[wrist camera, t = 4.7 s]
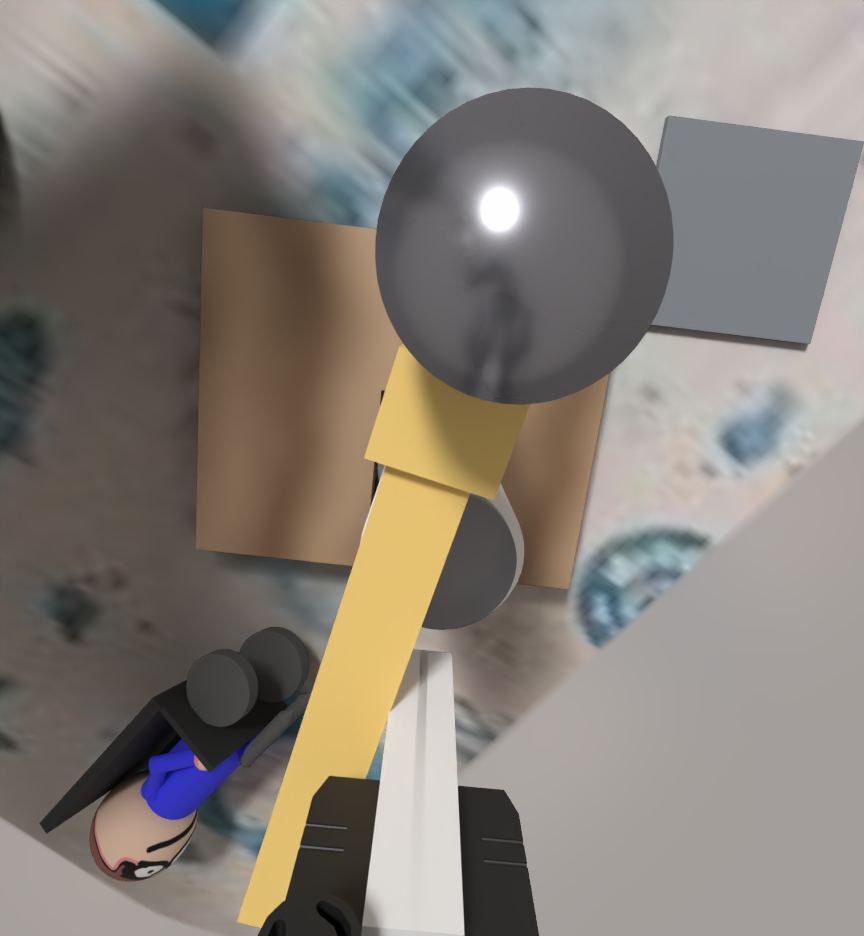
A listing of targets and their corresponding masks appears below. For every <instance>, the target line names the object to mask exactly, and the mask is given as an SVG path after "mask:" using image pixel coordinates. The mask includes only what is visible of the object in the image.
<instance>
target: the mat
mask: <svg viewBox="0 0 864 936" xmlns="http://www.w3.org/2000/svg"><path fill="white" fill-rule="evenodd" d="M863 144H864V142H863V141H856V140H848V139H841V138H833V137H826V136H818V135H811V134H803V133H796V132H788V131H781V130H773V129H766V128H758V127H751V126H743V125H736V124H728V123H721V122H713V121H706V120H698V119H691V118H683V117H676V116H668V117H667V118H666V119H665V124H664V129H663V134H662V139H661V145H660V150H659V155H658V160H657V165H656V168H657V169H658V171H659V173H660V176H661V179H662V181H663V184H664V187H665V189H666V192H667V196H668V200H669V204H670V209H671V213H672V223H673V232H674V237H673V259H672V266H671V273H670V277H669V281H668V285H667V288H666V292H665V295H664V298H663V300H662V303H661V305H660V308H659V310H658V313H657V315H656V316H655V318H654V320H653V322H652V324H651V325H656V326H664V327H673V328H681V329H689V330H697V331H705V332H713V333H722V334H730V335H738V336H746V337H754V338H762V339H771V340H779V341H787V342H795V343H803V344H810V343H811V339H812V335H813V331H814V328H815V324H816V320H817V316H818V313H819V309H820V305H821V301H822V298H823V294H824V290H825V287H826V283H827V279H828V275H829V272H830V268H831V264H832V260H833V257H834V253H835V249H836V245H837V242H838V238H839V234H840V230H841V227H842V223H843V219H844V215H845V212H846V208H847V204H848V200H849V197H850V193H851V189H852V185H853V182H854V178H855V174H856V170H857V167H858V163H859V159H860V156H861V152H862V148H863Z"/></svg>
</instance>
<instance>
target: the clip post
mask: <svg viewBox="0 0 864 936" xmlns="http://www.w3.org/2000/svg"><path fill="white" fill-rule="evenodd" d="M673 237H674V232H673V223H672V213H671V209H670V204H669V200H668V196H667V192H666V189H665V187H664V184H663V181H662V179H661V176H660V173H659V171H658V169H657V168H656V166H655V164H654V162H653V160H652V158H651V157H650V155H649V153H648V152H647V151H646V149H645V148H644V146H643V145H642V144H641V142H640V141H639V140H638V138H637V137H636V136H635V135H634V134H633V133H632V132H631V131H630V130H629V129H628V128H627V127H626V126H625V125H624V124H623V123H622V122H621V121H619V120H618V119H617V118H615V117H614V116H613V115H612V114H610V113H609V112H608V111H606V110H605V109H603V108H601V107H599V106H597V105H596V104H594V103H592V102H590V101H588V100H586V99H583V98H580V97H578V96H575V95H572V94H570V93H566V92H561V91H556V90H551V89H542V88H519V89H507V90H503V91H499V92H495V93H490V94H486V95H484V96H481V97H479V98H476V99H474V100H471V101H469V102H466V103H465V104H463V105H461V106H459V107H458V108H456V109H454V110H452V111H451V112H449V113H448V114H446V115H445V116H444V117H442V118H441V119H440V120H438V121H437V122H436V123H434V124H433V125H432V126H431V127H430V128H429V129H428V130H427V131H426V132H425V133H424V134H423V135H422V136H421V137H420V138H419V139H418V140H417V141H416V142H415V143H414V145H413V146H412V147H411V149H410V150H409V151H408V153H407V154H406V155H405V157H404V158H403V160H402V161H401V163H400V165H399V166H398V168H397V170H396V172H395V173H394V175H393V177H392V179H391V182H390V184H389V187H388V189H387V191H386V194H385V196H384V200H383V203H382V207H381V210H380V214H379V218H378V225H377V231H376V240H375V263H376V273H377V281H378V285H379V290H380V294H381V298H382V301H383V304H384V307H385V309H386V312H387V315H388V318H389V319H390V321H391V323H392V325H393V327H394V329H395V331H396V333H397V335H398V336H399V338H400V339H401V341H402V342H403V344H404V345H405V347H406V348H407V350H408V351H409V352H410V353H411V354H412V355H413V356H414V358H415V359H416V360H417V361H418V362H419V363H420V364H421V365H422V366H423V367H424V368H425V369H427V370H428V371H429V372H430V373H431V374H432V375H434V376H435V377H436V378H438V379H439V380H441V381H442V382H444V383H445V384H447V385H448V386H450V387H452V388H454V389H456V390H458V391H460V392H462V393H464V394H466V395H469V396H472V397H475V398H478V399H481V400H485V401H490V402H495V403H501V404H516V405H524V404H536V403H543V402H547V401H552V400H557V399H560V398H563V397H566V396H568V395H571V394H574V393H576V392H578V391H580V390H582V389H584V388H586V387H588V386H590V385H592V384H594V383H595V382H597V381H598V380H600V379H601V378H603V377H604V376H606V375H607V374H609V373H610V372H611V371H612V370H613V369H615V368H616V367H617V366H618V365H619V364H620V363H622V362H623V361H624V360H625V358H626V357H627V356H628V355H629V354H630V353H631V352H632V351H633V350H634V349H635V348H636V346H637V345H638V343H639V342H640V341H641V339H642V338H643V336H644V335H645V334H646V332H647V331H648V329H649V327H650V325H651V324H652V322H653V320H654V318H655V316H656V315H657V313H658V310H659V308H660V305H661V303H662V300H663V298H664V295H665V292H666V288H667V285H668V281H669V277H670V273H671V266H672V259H673Z"/></svg>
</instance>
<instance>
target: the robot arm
mask: <svg viewBox="0 0 864 936" xmlns="http://www.w3.org/2000/svg"><path fill="white" fill-rule="evenodd" d="M526 864H527V861H526V856H525V849H524V845H523V837H522V831H521V825H520V819H519V814H518V812H517V810H516V809H515V807H514V805H513V804H512V802H511V801H510V799H509V797H508V796H507V794H506V792H505V791H504V790H498V789H487V788H476V787H465V786H458V781H457V759H456V736H455V714H454V692H453V670H452V653H446V652H436V651H426V650H415V649H413V651H412V653H411V656H410V659H409V662H408V664H407V667H406V670H405V672H404V675H403V678H402V681H401V683H400V686H399V689H398V692H397V694H396V697H395V700H394V702H393V705H392V708H391V711H390V712H389V715H388V723H387V731H386V739H385V747H384V755H383V763H382V771H381V779H380V780H370V779H359V778H349V777H338V776H329V777H328V778H327V779H326V780H325V782H324V783H323V784H322V785H321V787H320V788H319V789H318V790H317V792H316V793H315V794H314V795H313V797H312V801H311V804H310V808H309V812H308V816H307V820H306V825H305V827H304V831H303V835H302V839H301V842H300V848H299V850H298V854H297V857H296V861H295V865H294V869H293V873H292V876H291V880H290V884H289V888H288V891H287V895H286V899H285V901H283V902H282V903H281V904H280V905H279V906H278V907H277V908H276V909H275V910H274V911H273V912H271V913H270V914H269V915H268V916H267V918H266V920H265V922H264V924H263V926H262V928H261V930H260V932H259V934H258V936H539V933H538V927H537V921H536V915H535V909H534V903H533V898H532V891H531V885H530V879H529V873H528V868H527V865H526Z"/></svg>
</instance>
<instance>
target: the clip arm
mask: <svg viewBox="0 0 864 936" xmlns="http://www.w3.org/2000/svg"><path fill="white" fill-rule="evenodd" d="M529 406H530V404H524V405H516V404H501V403H495V402H490V401H485V400H481V399H478V398H475V397H472V396H469V395H466V394H464V393H462V392H460V391H458V390H456V389H454V388H452V387H450V386H448V385H447V384H445V383H444V382H442V381H441V380H439V379H438V378H436V377H435V376H434V375H432V374H431V373H430V372H429V371H428V370H427V369H425V368H424V367H423V366H422V365H421V364H420V363H419V362H418V361H417V360H416V359H415V358H414V356H413V355H412V354H411V353H410V352H409V351H408V350H407V348H406V347H405V345H404V344H403V345H401V346H399V349H398V352H397V355H396V358H395V361H394V364H393V368H392V371H391V374H390V377H389V380H388V383H387V386H386V390H385V393H384V396H383V399H382V402H381V405H380V409H379V412H378V415H377V418H376V421H375V424H374V428H373V431H372V434H371V437H370V440H369V443H368V446H367V450H366V453H365V456H364V458H365V459H368V460H371V461H374V462H377V463H380V464H383V465H386V466H385V469H384V472H383V476H382V479H381V482H380V485H379V488H378V491H377V494H376V497H375V500H374V503H373V506H372V509H371V512H370V515H369V518H368V521H367V524H366V528H365V531H364V534H363V537H362V540H361V543H360V546H359V549H358V552H357V555H356V558H355V561H354V564H353V567H352V570H351V573H350V576H349V580H348V583H347V586H346V589H345V592H344V595H343V598H342V601H341V604H340V607H339V610H338V613H337V616H336V619H335V622H334V625H333V629H332V632H331V635H330V638H329V641H328V644H327V647H326V650H325V653H324V656H323V659H322V662H321V665H320V668H319V671H318V674H317V677H316V681H315V684H314V687H313V690H312V693H311V696H310V699H309V702H308V705H307V708H306V711H305V714H304V717H303V720H302V723H301V726H300V729H299V733H298V736H297V739H296V742H295V745H294V748H293V751H292V754H291V757H290V760H289V763H288V766H287V769H286V772H285V775H284V778H283V781H282V785H281V788H280V791H279V794H278V797H277V800H276V803H275V806H274V809H273V812H272V815H271V818H270V821H269V824H268V827H267V830H266V833H265V837H264V840H263V843H262V846H261V849H260V852H259V855H258V858H257V861H256V864H255V867H254V870H253V873H252V876H251V879H250V882H249V885H248V889H247V892H246V895H245V898H244V901H243V904H242V907H241V910H240V913H239V916H238V919H237V922H239V923H243V924H247V925H251V926H255V927H259V928H262V926H263V924H264V922H265V920H266V918H267V916H268V915H269V914H270V913H271V912H273V911H274V910H275V909H276V908H277V907H278V906H279V905H280V904H281V903H282V902H283V901H285V899H286V895H287V891H288V888H289V884H290V880H291V876H292V873H293V869H294V865H295V861H296V857H297V854H298V850H299V848H300V842H301V839H302V835H303V831H304V827H305V825H306V820H307V816H308V812H309V808H310V804H311V801H312V797H313V795H314V794H315V793H316V792H317V790H318V789H319V788H320V787H321V785H322V784H323V783H324V782H325V780H326V779H327V778H328V777H329V776H338V777H349V778H359V779H366V776H367V773H368V771H369V768H370V765H371V762H372V760H373V757H374V754H375V752H376V749H377V746H378V743H379V741H380V738H381V735H382V732H383V730H384V727H385V724H386V722H387V719H388V715H389V712H390V711H391V708H392V705H393V702H394V700H395V697H396V694H397V692H398V689H399V686H400V683H401V681H402V678H403V675H404V672H405V670H406V667H407V664H408V662H409V659H410V656H411V653H412V651H413V648H414V645H415V643H416V640H417V637H418V634H419V632H420V629H421V626H422V623H423V621H424V618H425V615H426V613H427V610H428V607H429V604H430V602H431V599H432V596H433V593H434V591H435V588H436V585H437V583H438V580H439V577H440V574H441V572H442V569H443V566H444V563H445V561H446V558H447V555H448V553H449V550H450V547H451V544H452V542H453V539H454V536H455V534H456V531H457V528H458V525H459V523H460V520H461V517H462V514H463V512H464V509H465V506H466V504H467V501H468V498H469V495H470V493H472V494H475V495H479V496H482V497H485V498H488V499H491V500H494V499H495V496H496V494H497V491H498V488H499V486H500V483H501V480H502V478H503V475H504V473H505V470H506V467H507V465H508V462H509V459H510V457H511V454H512V451H513V449H514V446H515V443H516V441H517V438H518V436H519V433H520V430H521V428H522V425H523V422H524V420H525V417H526V414H527V412H528V409H529Z"/></svg>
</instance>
